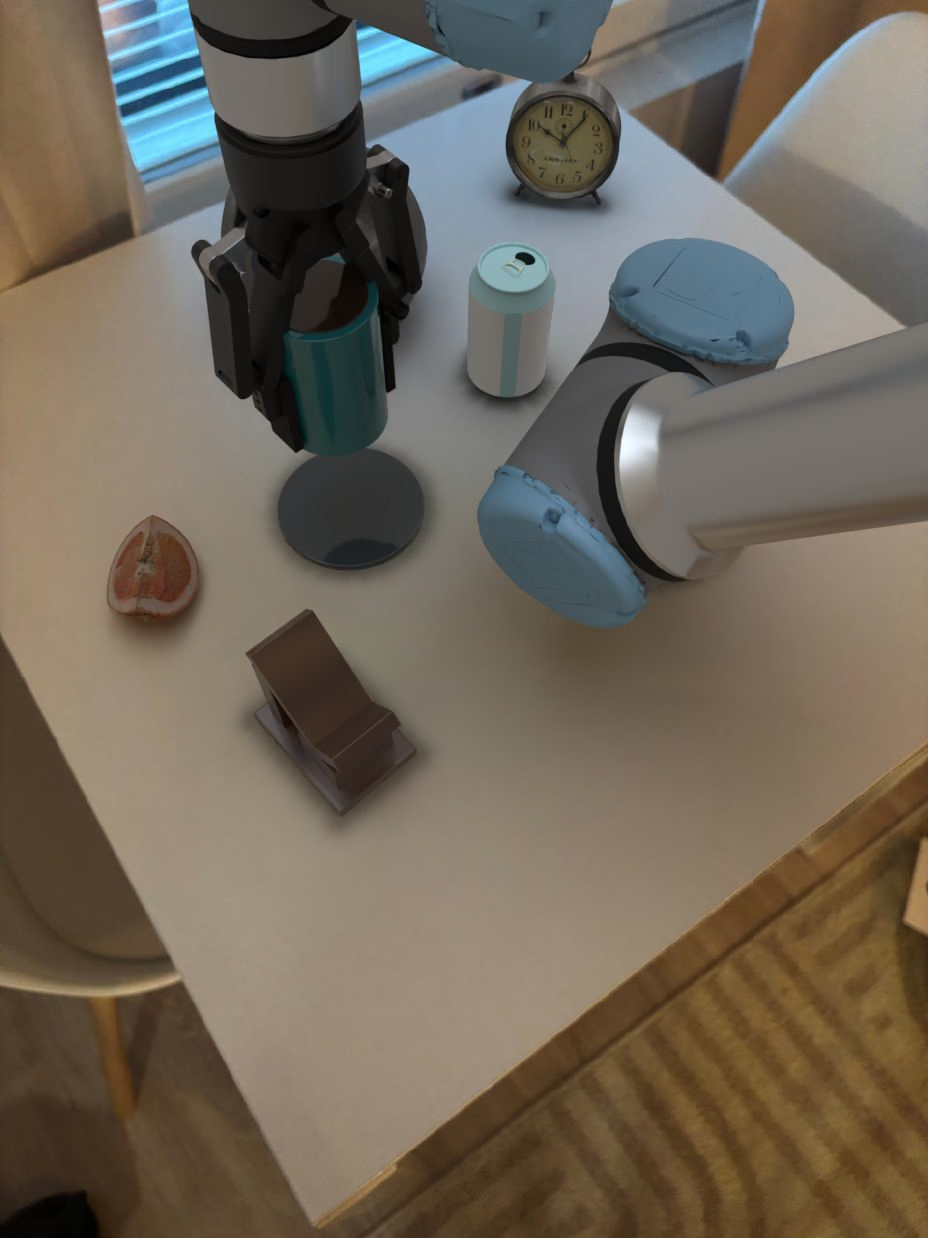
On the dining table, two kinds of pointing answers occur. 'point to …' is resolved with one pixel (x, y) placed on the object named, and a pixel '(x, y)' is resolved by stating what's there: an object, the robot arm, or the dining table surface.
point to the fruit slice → (152, 572)
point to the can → (509, 319)
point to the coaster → (351, 509)
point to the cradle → (325, 713)
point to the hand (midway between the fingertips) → (335, 408)
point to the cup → (337, 360)
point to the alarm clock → (564, 137)
